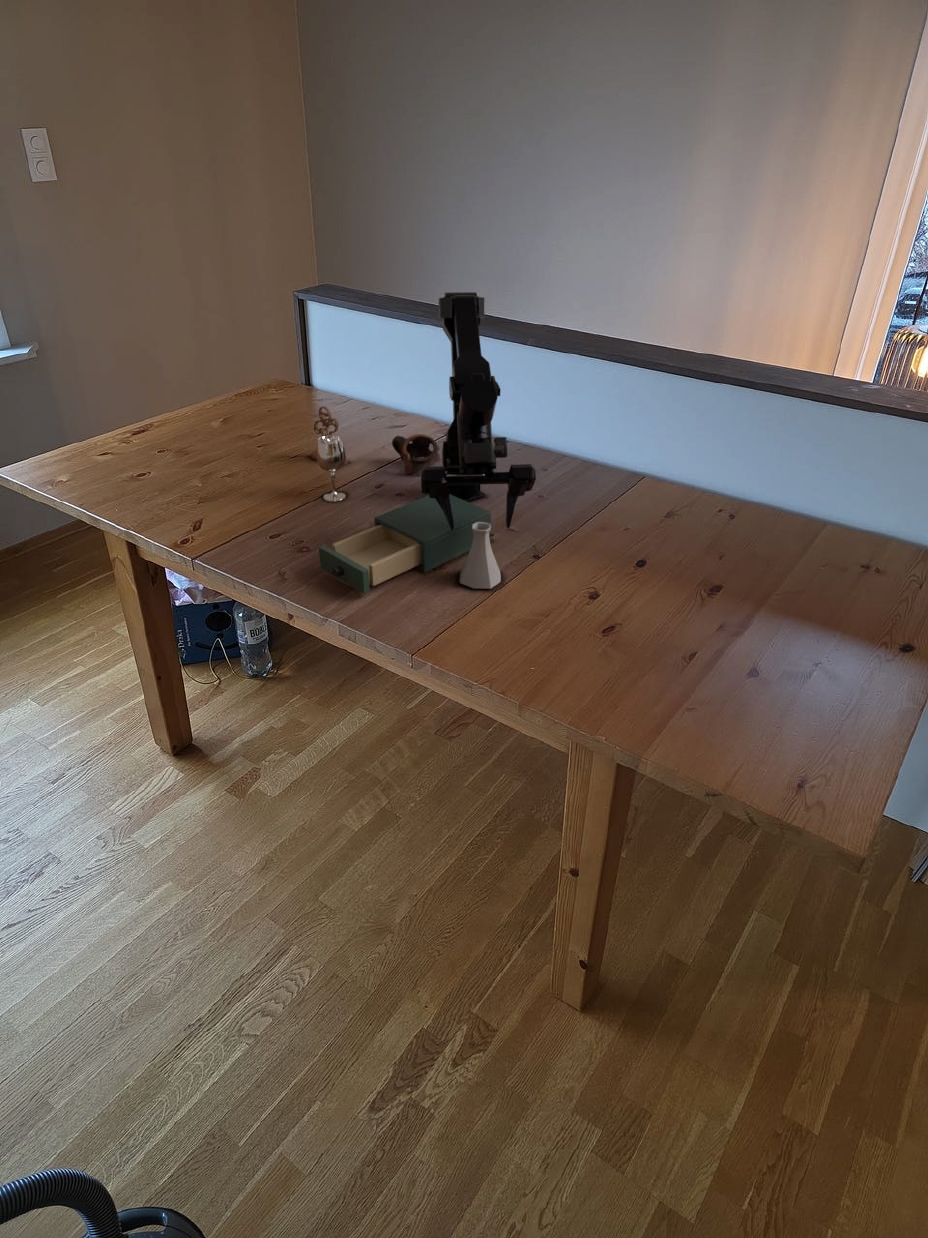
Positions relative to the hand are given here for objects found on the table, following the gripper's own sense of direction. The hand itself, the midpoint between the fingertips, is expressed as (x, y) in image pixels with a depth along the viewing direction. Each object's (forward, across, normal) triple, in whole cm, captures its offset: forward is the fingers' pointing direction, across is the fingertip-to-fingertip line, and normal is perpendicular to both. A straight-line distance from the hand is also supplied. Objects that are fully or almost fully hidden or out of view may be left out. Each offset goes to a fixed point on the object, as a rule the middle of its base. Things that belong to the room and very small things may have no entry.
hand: (480, 528), depth 131 cm
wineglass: (-17, -26, +30) cm, 43 cm away
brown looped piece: (-31, -28, +44) cm, 61 cm away
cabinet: (-2, -7, +14) cm, 16 cm away
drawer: (+4, -18, +8) cm, 20 cm away
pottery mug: (-28, -9, +40) cm, 49 cm away
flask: (+7, 0, +5) cm, 9 cm away
